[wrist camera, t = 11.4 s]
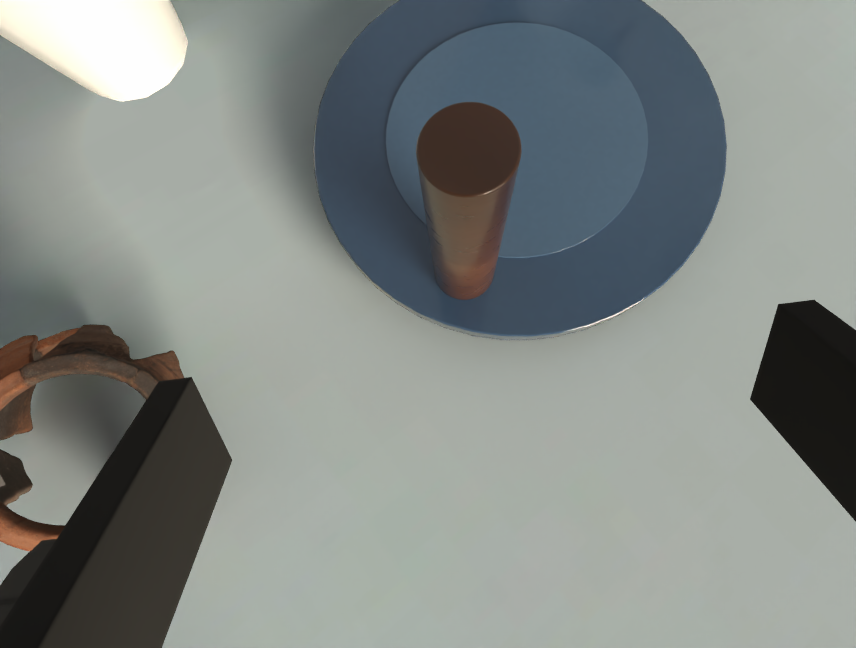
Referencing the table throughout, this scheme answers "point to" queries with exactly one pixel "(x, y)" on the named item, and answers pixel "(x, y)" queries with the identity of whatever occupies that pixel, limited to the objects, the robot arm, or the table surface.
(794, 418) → the robot arm
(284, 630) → the table surface
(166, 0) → the foam cup
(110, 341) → the broken brown clay pot
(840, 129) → the table surface
